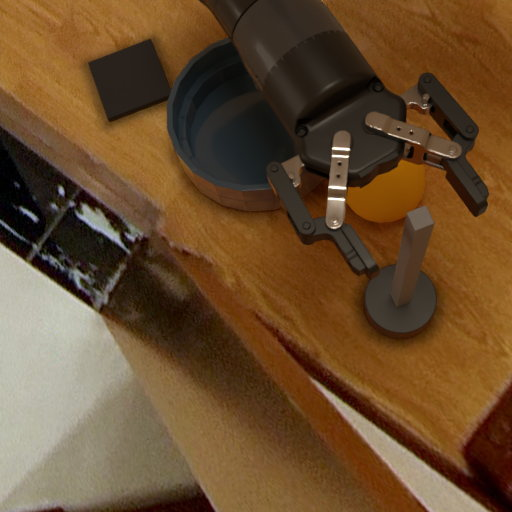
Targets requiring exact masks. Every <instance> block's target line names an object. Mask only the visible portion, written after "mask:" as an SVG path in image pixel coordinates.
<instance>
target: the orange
mask: <svg viewBox="0 0 512 512" xmlns="http://www.w3.org/2000/svg"><path fill="white" fill-rule="evenodd" d="M426 185H427V175H426V167H425V164H422V165H417V164H414V163H411V162H408V161H405V160H402V159H401V161H400V162H399V163H398V167H396V168H395V169H393V170H391V171H390V172H387V173H384V174H380V175H378V176H376V177H375V178H374V179H373V180H372V181H371V182H370V183H369V184H368V185H366V186H364V187H363V188H361V189H360V187H348V193H347V203H346V205H347V206H349V208H350V209H351V211H353V212H354V213H355V214H356V215H357V216H359V217H361V218H362V219H364V220H366V221H370V222H373V223H379V224H380V223H381V224H383V223H392V222H395V221H398V220H401V219H404V218H406V214H407V212H409V211H412V210H415V209H417V208H418V205H419V204H420V203H421V201H422V199H423V197H424V195H425V190H426Z"/></svg>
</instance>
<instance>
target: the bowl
mask: <svg viewBox="0 0 512 512" xmlns="http://www.w3.org/2000/svg"><path fill="white" fill-rule="evenodd" d="M166 130H167V133H168V136H169V138H170V142H171V144H172V147H173V149H174V152H175V154H176V156H177V159H178V161H179V162H180V165H181V167H182V169H183V171H184V174H185V175H186V177H187V178H188V179H189V180H190V181H191V183H192V184H193V185H194V186H195V188H197V189H198V191H199V192H200V193H201V194H203V195H204V196H207V197H208V198H210V199H211V200H213V201H215V202H216V203H218V204H220V205H221V206H224V207H228V208H232V209H237V210H240V211H245V212H259V211H272V210H277V209H280V208H282V207H281V205H280V203H279V201H278V200H277V198H276V196H275V194H274V193H273V191H272V189H271V187H270V185H269V182H268V177H267V173H266V166H267V164H268V163H270V162H272V161H278V162H280V163H283V162H285V161H287V160H289V159H291V158H293V157H295V156H297V155H299V150H298V148H297V146H296V144H295V142H294V141H293V139H292V138H291V136H290V135H289V133H288V132H287V130H286V129H285V127H284V126H283V124H282V123H281V121H280V120H279V119H278V117H277V116H276V114H275V113H274V111H273V110H272V108H271V107H270V105H269V104H268V102H267V101H266V99H265V98H264V96H263V95H262V94H260V93H259V91H258V90H257V89H256V87H255V85H254V82H253V80H252V78H251V77H250V75H249V74H248V72H247V70H246V69H245V67H244V65H243V63H242V60H241V58H240V56H239V54H238V52H237V50H236V49H235V47H234V45H233V44H232V42H231V41H230V39H229V38H228V36H226V37H225V38H222V39H219V40H217V41H214V42H212V43H210V44H208V45H207V46H206V47H204V48H203V49H202V50H201V51H200V52H198V53H197V54H195V55H194V56H193V57H191V58H190V59H189V60H188V61H187V63H185V66H184V67H183V68H182V69H181V71H180V72H179V73H178V75H177V76H176V77H175V79H174V81H173V83H172V87H171V93H170V96H169V99H168V100H167V102H166ZM300 178H301V188H300V189H299V190H298V191H297V192H298V194H299V195H300V197H301V199H302V200H303V198H304V197H305V196H307V195H308V194H309V193H311V192H312V191H313V190H314V189H316V188H317V187H318V186H319V185H320V184H321V183H322V182H323V180H325V178H322V177H319V176H316V175H314V174H311V173H308V172H307V171H305V170H304V171H303V172H302V173H301V175H300Z"/></svg>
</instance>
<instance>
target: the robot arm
mask: <svg viewBox="0 0 512 512" xmlns="http://www.w3.org/2000/svg"><path fill="white" fill-rule="evenodd" d="M197 1H198V2H199V3H201V4H202V6H204V7H205V8H206V9H208V10H209V12H210V13H211V15H212V16H213V18H214V19H215V20H216V21H217V23H218V25H219V26H220V28H221V29H222V31H223V32H224V34H225V35H226V37H228V38H229V39H230V41H231V42H232V44H233V45H234V47H235V49H236V50H237V52H238V54H239V56H240V58H241V60H242V63H243V65H244V67H245V69H246V70H247V72H248V74H249V75H250V77H251V78H252V80H253V82H254V85H255V87H256V89H257V90H258V91H259V93H260V94H262V95H263V96H264V98H265V99H266V101H267V102H268V104H269V105H270V107H271V108H272V110H273V111H274V113H275V114H276V116H277V117H278V119H279V120H280V121H281V123H282V124H283V126H284V127H285V129H286V130H287V132H288V133H289V135H290V136H291V138H292V139H293V141H294V142H295V144H296V146H297V148H298V150H299V155H297V156H295V157H293V158H291V159H289V160H287V161H285V162H283V163H280V162H278V161H272V162H270V163H268V164H267V166H266V173H267V177H268V182H269V185H270V187H271V189H272V191H273V193H274V194H275V196H276V198H277V200H278V201H279V203H280V205H281V207H280V208H281V209H282V210H283V212H284V215H285V216H286V217H287V220H288V221H289V223H290V225H291V227H292V229H293V230H294V232H295V234H296V235H297V238H298V239H299V241H300V242H301V243H302V245H305V246H312V245H313V244H315V243H316V242H321V241H329V242H330V243H332V244H333V245H334V246H335V247H336V249H337V250H338V253H339V254H340V255H341V257H342V259H343V260H344V262H345V263H346V264H347V265H348V267H349V269H350V271H351V272H352V273H353V274H354V275H355V276H357V277H359V278H360V277H362V276H364V275H365V277H366V278H367V280H368V281H369V280H372V279H373V278H375V277H377V276H378V275H379V271H380V266H379V264H378V262H377V261H376V260H375V258H374V257H373V256H372V254H371V253H370V251H369V249H368V248H367V247H366V245H365V243H364V241H363V240H362V239H361V238H360V236H359V234H358V233H357V231H356V230H355V229H354V227H353V225H352V224H351V223H348V224H347V223H346V221H345V220H346V210H347V193H348V187H360V189H361V188H363V187H364V186H366V185H368V184H369V183H370V182H371V181H372V180H373V179H374V178H375V177H376V176H378V175H380V174H384V173H387V172H390V171H391V170H393V169H395V168H396V167H398V163H399V162H400V161H401V159H402V160H405V161H408V162H411V163H414V164H417V165H422V164H424V165H426V166H429V167H432V168H435V169H438V170H441V171H444V172H446V173H445V177H444V178H445V179H446V180H447V183H449V185H450V186H451V187H452V189H453V190H454V191H455V192H454V193H456V195H457V196H458V197H459V199H460V201H462V203H463V204H464V206H465V207H466V208H467V210H468V211H469V213H471V215H472V216H473V217H474V218H478V217H480V216H481V215H483V214H484V213H486V211H487V209H488V206H489V202H488V199H489V196H490V192H489V189H488V188H489V187H488V185H487V184H486V183H485V181H483V179H482V178H481V177H480V175H479V174H478V172H477V171H476V170H475V169H474V167H473V166H472V164H471V163H470V161H469V160H468V158H467V155H468V153H469V152H472V150H473V149H474V147H475V143H476V140H477V137H478V135H479V133H480V128H479V125H478V124H477V123H476V121H474V120H473V118H472V117H471V116H470V115H469V114H468V112H467V111H465V109H464V108H463V106H461V105H460V104H459V102H458V101H457V100H456V99H455V98H454V97H453V95H452V94H451V93H450V92H449V91H448V89H447V88H446V87H445V86H444V85H443V84H442V83H441V82H440V80H439V79H438V78H437V77H436V76H435V74H433V73H431V72H430V71H429V72H423V73H422V74H420V75H419V77H418V81H417V82H416V84H414V85H413V86H411V87H410V88H408V89H406V90H405V91H404V92H402V93H401V94H397V93H395V92H393V91H391V90H389V89H388V88H387V87H386V85H385V84H384V83H383V81H382V79H381V78H380V77H379V75H378V74H377V73H376V71H375V70H374V68H373V67H372V66H371V64H370V63H369V61H368V60H367V59H366V58H365V56H364V55H363V53H362V52H361V51H360V49H359V48H358V47H357V45H356V44H355V42H354V41H353V40H352V38H351V36H350V35H349V34H348V33H347V32H346V30H345V28H344V27H343V26H342V24H340V22H339V21H338V19H337V18H336V17H335V15H334V14H333V13H332V11H331V10H330V9H329V8H328V6H327V5H326V4H325V3H324V2H323V1H322V0H197ZM409 110H414V111H416V112H417V113H419V115H423V116H424V115H425V116H426V115H429V116H430V117H431V119H432V120H433V121H434V122H435V123H436V125H438V127H439V128H440V129H441V130H442V131H443V133H444V134H445V135H446V136H447V138H448V139H447V138H443V137H440V136H438V135H435V134H433V133H432V132H431V131H430V130H429V129H426V128H424V127H420V126H417V125H414V124H411V123H407V116H408V115H407V113H408V111H409ZM304 170H305V171H307V172H308V173H311V174H314V175H316V176H319V177H322V178H324V180H328V188H327V201H326V211H325V215H324V216H318V217H315V218H314V217H313V216H312V214H311V213H310V211H309V210H308V208H307V206H306V204H305V203H304V201H303V198H302V199H301V197H300V195H299V194H298V192H297V191H298V190H299V189H300V188H301V178H300V175H301V173H302V172H303V171H304Z"/></svg>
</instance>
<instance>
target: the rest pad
mask: <svg viewBox="0 0 512 512" xmlns="http://www.w3.org/2000/svg"><path fill="white" fill-rule="evenodd" d="M87 64H88V68H89V71H90V72H91V75H92V78H93V81H94V84H95V87H96V89H97V94H98V95H99V98H100V101H101V104H102V106H103V109H104V113H105V115H106V118H107V120H108V122H110V123H112V122H114V121H116V120H119V119H121V118H123V117H127V116H129V115H131V114H134V113H137V112H140V111H142V110H144V109H148V108H149V107H153V106H155V105H158V104H160V103H163V102H166V101H168V99H169V96H170V93H171V90H172V88H171V87H170V84H169V82H168V79H167V77H166V74H165V71H164V69H163V66H162V63H161V61H160V59H159V56H158V53H157V51H156V48H155V45H154V43H153V40H152V39H151V38H148V39H146V40H143V41H140V42H138V43H136V44H132V45H130V46H127V47H124V48H122V49H119V50H117V51H115V52H114V51H113V52H112V53H109V54H106V55H104V56H101V57H98V58H97V59H96V58H95V59H94V60H91V61H89V62H87Z"/></svg>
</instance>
